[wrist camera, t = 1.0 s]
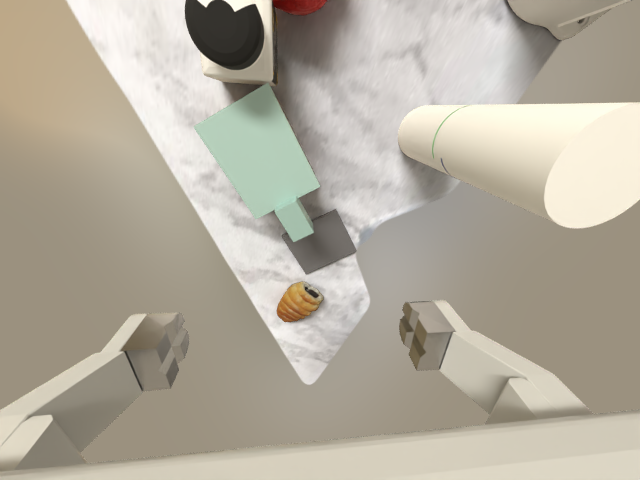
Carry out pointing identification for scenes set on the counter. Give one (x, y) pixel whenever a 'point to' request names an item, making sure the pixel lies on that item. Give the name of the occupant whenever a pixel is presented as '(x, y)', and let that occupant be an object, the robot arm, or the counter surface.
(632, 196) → the cylindrical container
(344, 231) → the mat
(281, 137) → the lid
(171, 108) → the counter surface
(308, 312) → the pastry
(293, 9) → the pomegranate
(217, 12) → the medicine bottle
